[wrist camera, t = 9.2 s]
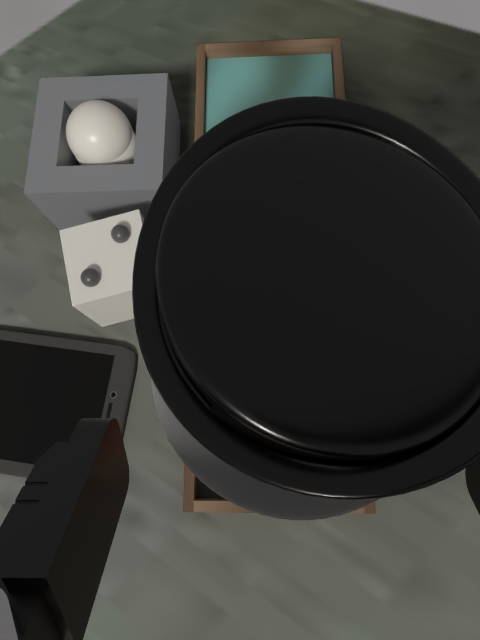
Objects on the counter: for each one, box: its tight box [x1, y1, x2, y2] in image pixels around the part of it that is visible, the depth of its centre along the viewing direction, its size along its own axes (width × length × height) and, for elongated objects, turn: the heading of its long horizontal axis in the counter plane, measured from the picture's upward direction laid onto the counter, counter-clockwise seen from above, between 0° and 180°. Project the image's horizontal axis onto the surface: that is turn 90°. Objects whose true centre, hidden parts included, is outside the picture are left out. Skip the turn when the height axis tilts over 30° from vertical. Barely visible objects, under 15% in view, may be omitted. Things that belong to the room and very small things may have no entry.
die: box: [59, 209, 144, 327], centre depth 23 cm, size 4×4×5 cm
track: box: [183, 38, 376, 514], centre depth 25 cm, size 9×28×1 cm, turn 0°
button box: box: [24, 73, 181, 230], centre depth 25 cm, size 7×7×4 cm
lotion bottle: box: [132, 96, 480, 520], centre depth 13 cm, size 6×6×20 cm
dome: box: [66, 100, 136, 166], centre depth 24 cm, size 3×3×5 cm
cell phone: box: [0, 329, 138, 478], centre depth 24 cm, size 7×14×1 cm, turn 82°
